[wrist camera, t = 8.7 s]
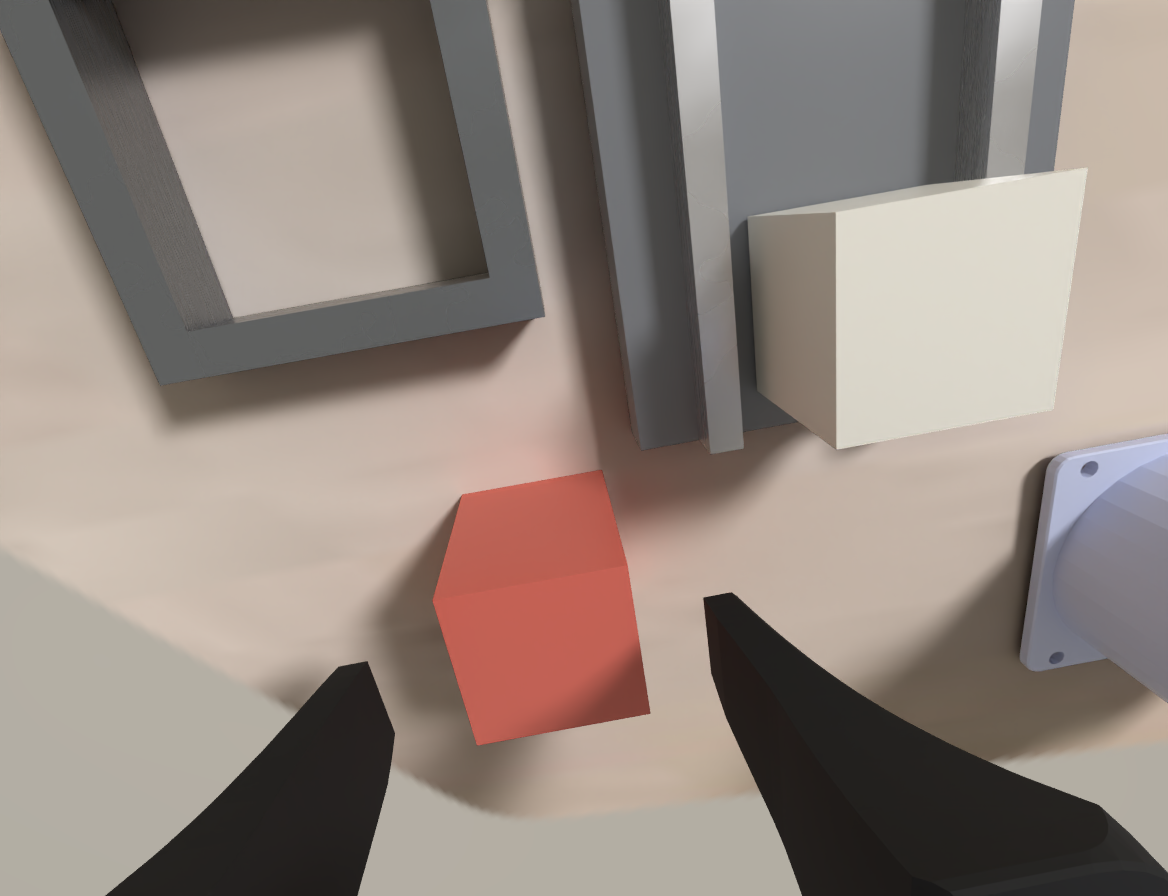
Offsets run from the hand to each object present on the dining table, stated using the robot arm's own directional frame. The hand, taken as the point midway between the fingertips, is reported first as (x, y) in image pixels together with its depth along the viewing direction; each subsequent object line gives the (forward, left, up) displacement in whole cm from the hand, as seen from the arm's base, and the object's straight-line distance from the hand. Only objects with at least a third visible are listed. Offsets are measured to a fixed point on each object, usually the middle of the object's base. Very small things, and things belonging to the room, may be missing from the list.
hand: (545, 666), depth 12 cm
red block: (0, 0, -5) cm, 5 cm away
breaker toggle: (-8, -6, -4) cm, 11 cm away
